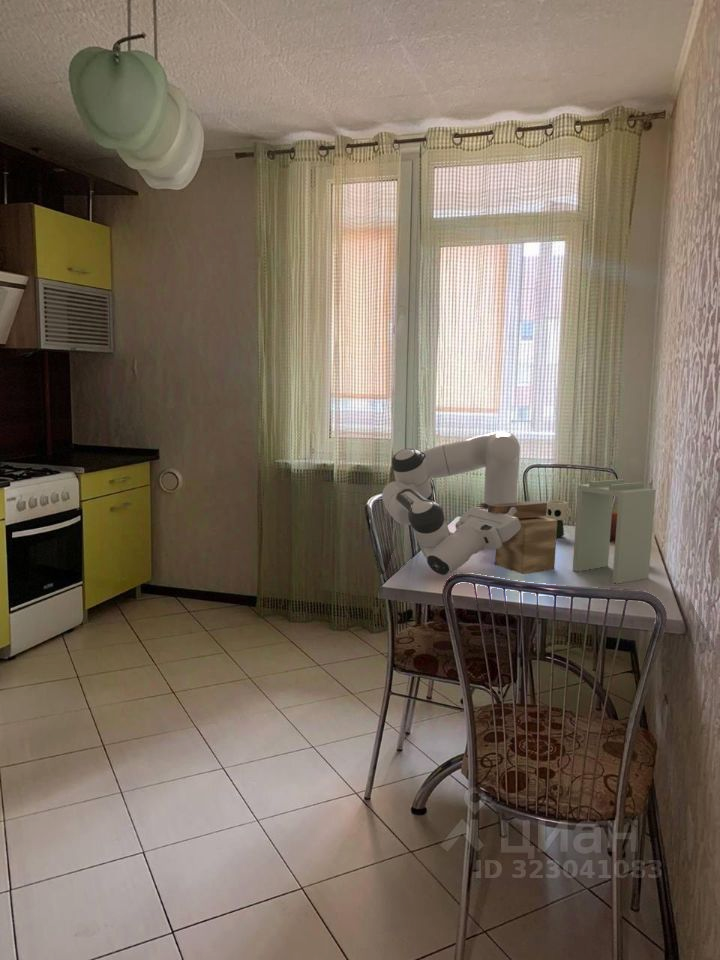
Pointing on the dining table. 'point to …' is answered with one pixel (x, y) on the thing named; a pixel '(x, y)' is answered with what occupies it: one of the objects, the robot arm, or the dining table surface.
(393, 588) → the dining table surface
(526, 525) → the oak step
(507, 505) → the walnut bar
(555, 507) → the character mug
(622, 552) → the bridge
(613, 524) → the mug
